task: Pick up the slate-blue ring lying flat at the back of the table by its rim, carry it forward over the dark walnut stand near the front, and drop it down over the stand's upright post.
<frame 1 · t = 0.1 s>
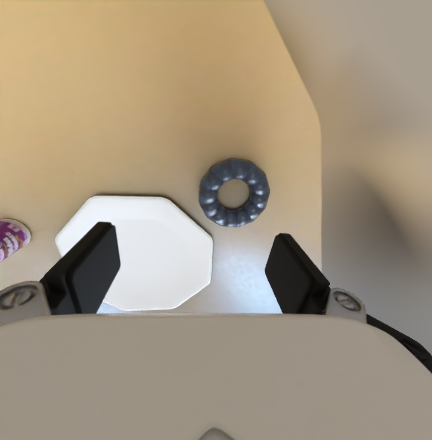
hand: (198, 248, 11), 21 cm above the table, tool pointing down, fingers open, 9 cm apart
pill bottle: (15, 230, 32), on the table
ring: (234, 195, 30), point 1 cm above the table
plate: (143, 258, 37), on the table
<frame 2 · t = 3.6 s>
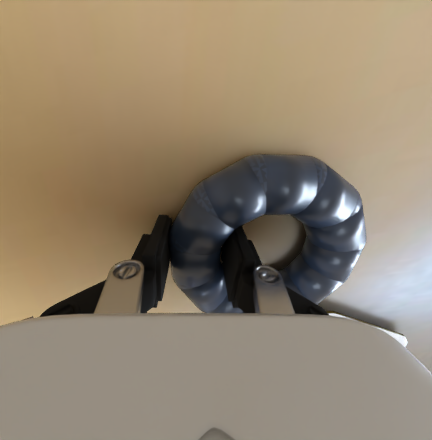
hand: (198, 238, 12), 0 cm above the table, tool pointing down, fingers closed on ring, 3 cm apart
ring: (264, 252, 11), point 2 cm above the table, touching gripper
plate: (277, 376, 23), on the table
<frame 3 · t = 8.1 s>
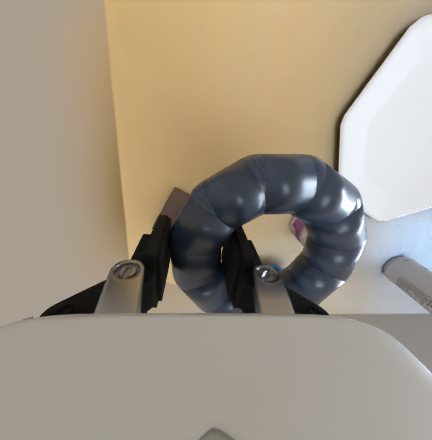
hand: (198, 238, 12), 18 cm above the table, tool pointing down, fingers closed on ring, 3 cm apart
pill bottle: (302, 222, 34), on the table
energy drink can: (393, 264, 42), on the table
ring: (265, 251, 11), point 19 cm above the table, touching gripper
stand: (185, 218, 31), on the table
plate: (421, 132, 28), on the table
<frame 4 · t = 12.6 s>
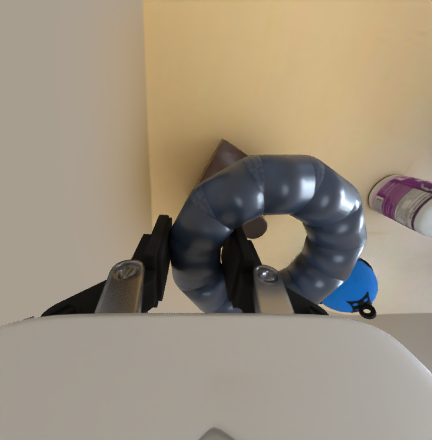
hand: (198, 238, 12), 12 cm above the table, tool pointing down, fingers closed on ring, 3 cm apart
pill bottle: (384, 192, 25), on the table
ring: (264, 252, 11), point 13 cm above the table, touching gripper
stand: (232, 186, 23), on the table
ornament: (320, 259, 30), on the table
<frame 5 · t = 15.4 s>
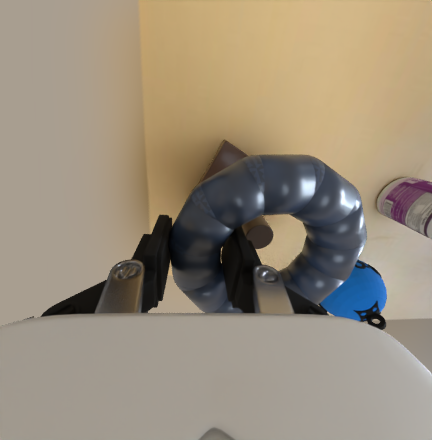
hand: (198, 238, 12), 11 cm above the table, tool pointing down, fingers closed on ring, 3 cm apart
pill bottle: (393, 195, 24), on the table
ring: (264, 252, 11), point 12 cm above the table, touching gripper
stand: (234, 189, 22), on the table
ornament: (325, 265, 29), on the table
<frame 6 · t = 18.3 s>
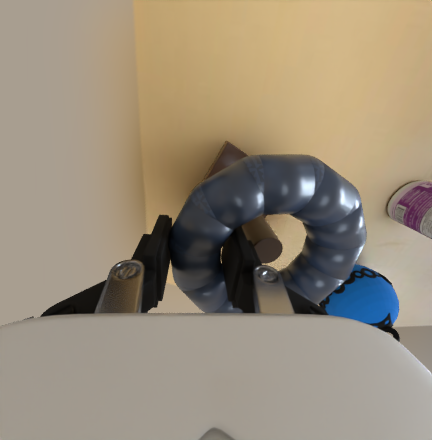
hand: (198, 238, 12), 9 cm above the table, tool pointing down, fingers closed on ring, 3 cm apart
pill bottle: (405, 199, 23), on the table
ring: (264, 252, 11), point 10 cm above the table, touching gripper
stand: (236, 194, 20), on the table
ornament: (332, 272, 28), on the table
when the fingers open (12 cm above the table, at t = 21.7 s): ring drops 10 cm, resting on stand.
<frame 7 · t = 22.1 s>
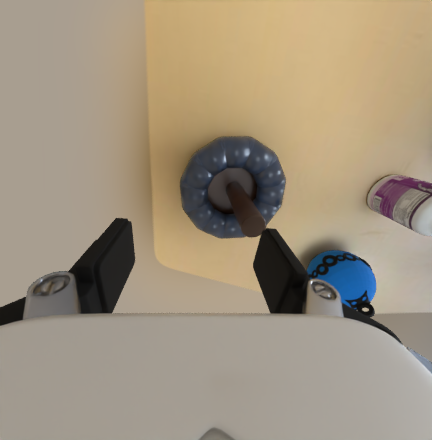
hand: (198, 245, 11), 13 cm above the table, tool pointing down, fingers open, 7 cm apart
pill bottle: (383, 192, 26), on the table
ring: (232, 192, 21), point 3 cm above the table, touching stand
stand: (232, 186, 23), on the table
ornament: (320, 259, 31), on the table
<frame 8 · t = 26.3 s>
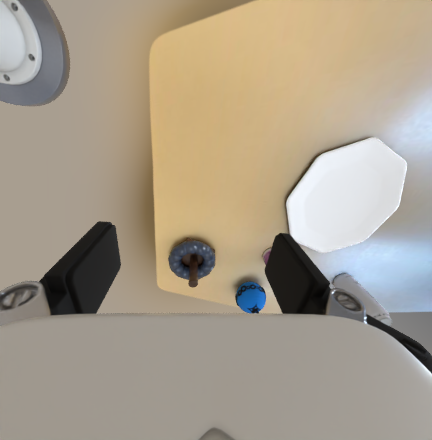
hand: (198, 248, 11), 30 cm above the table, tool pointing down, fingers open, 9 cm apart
pill bottle: (271, 254, 51), on the table
energy drink can: (340, 278, 59), on the table
ring: (192, 260, 46), point 3 cm above the table, touching stand
stand: (194, 254, 49), on the table
ornament: (246, 285, 56), on the table
plate: (340, 201, 45), on the table
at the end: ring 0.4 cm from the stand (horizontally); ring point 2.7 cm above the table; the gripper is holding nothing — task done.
